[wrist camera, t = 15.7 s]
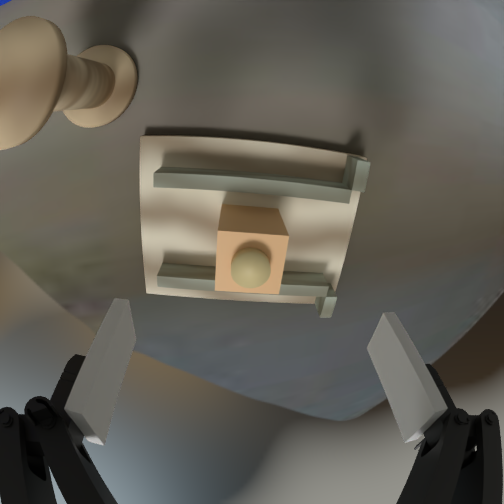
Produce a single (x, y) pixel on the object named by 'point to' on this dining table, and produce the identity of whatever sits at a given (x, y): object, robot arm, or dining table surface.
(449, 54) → the dining table surface
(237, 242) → the tab
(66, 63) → the bobbin
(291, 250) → the board
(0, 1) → the bracket
